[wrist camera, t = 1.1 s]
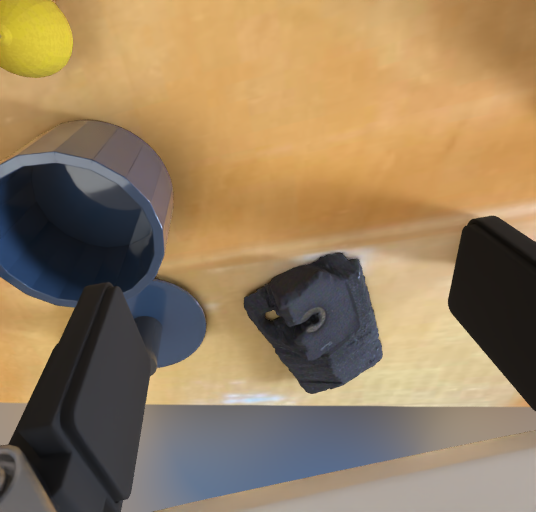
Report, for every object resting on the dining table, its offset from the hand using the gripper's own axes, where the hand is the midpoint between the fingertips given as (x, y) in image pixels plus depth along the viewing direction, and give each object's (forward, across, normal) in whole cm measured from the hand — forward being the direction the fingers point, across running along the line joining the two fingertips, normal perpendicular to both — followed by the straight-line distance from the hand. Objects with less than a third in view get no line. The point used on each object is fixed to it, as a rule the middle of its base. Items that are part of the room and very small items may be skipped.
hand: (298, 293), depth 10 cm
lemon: (+28, +14, -7) cm, 32 cm away
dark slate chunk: (+28, -7, +30) cm, 41 cm away
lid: (+28, +15, +24) cm, 39 cm away
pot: (+28, +14, +6) cm, 32 cm away
